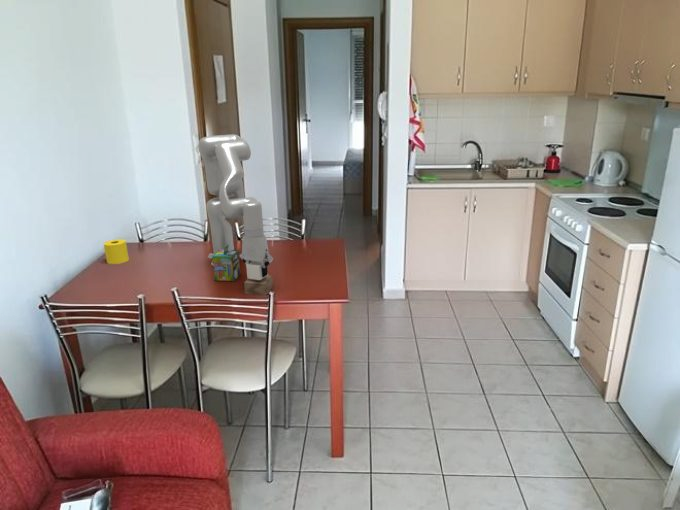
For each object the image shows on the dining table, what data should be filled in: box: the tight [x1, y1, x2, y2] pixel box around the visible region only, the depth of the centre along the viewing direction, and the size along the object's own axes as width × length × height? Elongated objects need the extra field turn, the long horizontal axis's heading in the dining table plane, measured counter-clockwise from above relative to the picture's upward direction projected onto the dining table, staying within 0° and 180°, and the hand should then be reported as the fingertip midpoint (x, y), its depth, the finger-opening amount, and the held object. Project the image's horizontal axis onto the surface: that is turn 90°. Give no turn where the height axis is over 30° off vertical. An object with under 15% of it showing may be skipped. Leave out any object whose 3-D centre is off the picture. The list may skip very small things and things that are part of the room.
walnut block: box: [243, 275, 274, 296], centre depth 215 cm, size 9×9×5 cm
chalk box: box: [211, 245, 241, 282], centre depth 229 cm, size 9×9×15 cm
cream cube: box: [245, 261, 269, 280], centre depth 213 cm, size 6×6×6 cm
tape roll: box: [103, 238, 130, 265], centre depth 257 cm, size 10×10×9 cm
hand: (257, 274), depth 214 cm, fingers closed on cream cube, 6 cm apart
